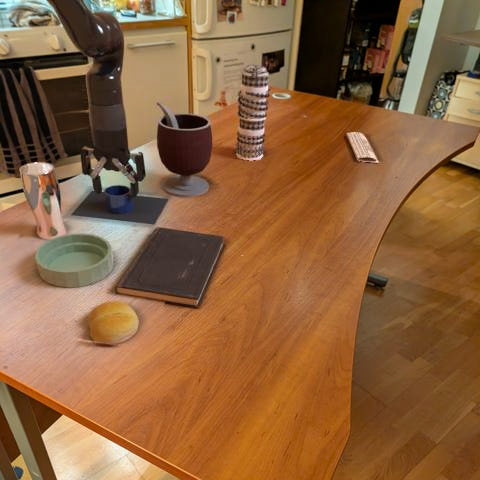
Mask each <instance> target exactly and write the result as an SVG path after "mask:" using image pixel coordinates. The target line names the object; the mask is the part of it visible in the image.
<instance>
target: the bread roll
mask: <svg viewBox="0 0 480 480" xmlns="http://www.w3.org/2000/svg"><path fill="white" fill-rule="evenodd" d="M139 324H140V321H139V317H138V316H137V314H136V312H135V310H134V309H133V307H131V306H129V305H128V304H127V303H125V302H121V301H118V300H111V301H105V302H103V303H100V304H98V305H97V306H95V307H93V309H92V310H91V311H90V312H89V314H88V316H87V325H88V327H89V329H90V330H89V336H90V338H91V339H92V341H94V342H97V343H102V344H107V345H118V344H121V343H123V342H126V341H127V340H129V339H131V338H132V337H133V336H134V335H135V334H136V333H137V332H138V328H139Z"/></svg>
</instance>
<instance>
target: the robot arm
mask: <svg viewBox="0 0 480 480" xmlns="http://www.w3.org/2000/svg"><path fill="white" fill-rule="evenodd" d="M46 2H47V3H48V5H50V6H51V8H52V9H53V10H54V12H55V14H56V16H57V18H58V20H59V22H60V24H61V26H62V27H63V29H64V31H65V33H66V35H67V37H68V38H69V40H70V42H71V43H72V44H73V46H75V48H76V49H77V51H78V52H80V53H81V54H83V55H84V56H86V57H88V58H90V59H92V65H91V67H90V68H89V69H88V70H87V72H86V73H85V85H86V93H87V99H88V100H87V101H88V118H89V119H88V121H89V125H90V131H91V132H90V133H91V139H92V145H93V148H90V147H89V146H88V145H85V146H84V147H82V148H81V149H80V150H79V152H80V164H81V172H82V173H81V174H82V175H84V176H89V177H90V178H91V183H92V189H93V191H96V194H100V193H101V192H103V186H102V177H101V175H100V173H101V171H103V169H104V170H105V171H106V172H107V171H108V172H110V171H113V172H117V173H119V172H121V174H122V175H123V176H124V177H126V178H127V180H128V181H129V182H130V183H129V187H130V189H131V198H135V197H136V196H137V195H138V196H139V193H140V186H139V182H141V183H142V182H143V181H144V180H145V178H146V177H147V172H146V166H145V157H144V152H142V151H138V152H137V153H135V152H131V151H130V148H129V137H128V125H127V115H126V114H127V113H126V109H125V104H124V96H123V85H122V73H123V67H124V58H125V57H124V56H125V37H124V32H123V29H122V26H121V24H120V21H119V20H118V19H117V17H116V16H115V15H113V14H112V13H110V12H108V11H103V10H102V11H97V12H92V11H90V8H88V6H87V5H86V3H85V0H46ZM91 158H95V160H96V161H97V163H96V165H95V166H94V168H92V162H91ZM130 160H131V161H132V162H133V164H134V165H135V170H134V167H133V165H131V162H130Z"/></svg>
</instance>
